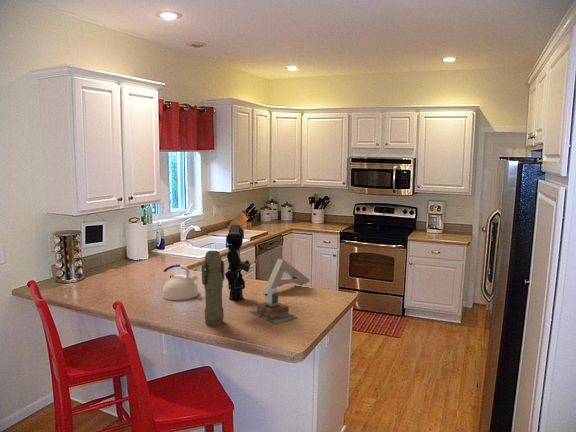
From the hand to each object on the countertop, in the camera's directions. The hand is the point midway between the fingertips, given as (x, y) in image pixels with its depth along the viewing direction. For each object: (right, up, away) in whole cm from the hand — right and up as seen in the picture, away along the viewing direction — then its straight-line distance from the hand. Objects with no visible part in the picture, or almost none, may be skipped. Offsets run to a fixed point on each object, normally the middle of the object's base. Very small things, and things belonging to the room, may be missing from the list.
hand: (234, 286), depth 236 cm
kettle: (-34, -9, +25) cm, 43 cm away
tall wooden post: (+20, -12, -8) cm, 25 cm away
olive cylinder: (-7, -15, -18) cm, 25 cm away
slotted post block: (+20, -13, -8) cm, 25 cm away
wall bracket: (+28, -7, +37) cm, 47 cm away
